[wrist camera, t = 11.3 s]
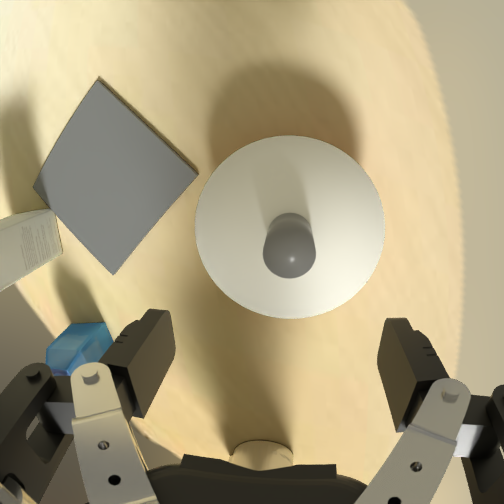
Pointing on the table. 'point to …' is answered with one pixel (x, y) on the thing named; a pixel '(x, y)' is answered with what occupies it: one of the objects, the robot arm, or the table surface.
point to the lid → (289, 227)
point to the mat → (111, 177)
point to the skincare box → (27, 244)
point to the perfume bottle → (77, 347)
